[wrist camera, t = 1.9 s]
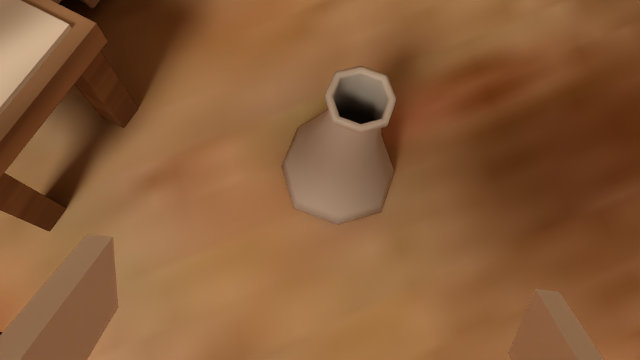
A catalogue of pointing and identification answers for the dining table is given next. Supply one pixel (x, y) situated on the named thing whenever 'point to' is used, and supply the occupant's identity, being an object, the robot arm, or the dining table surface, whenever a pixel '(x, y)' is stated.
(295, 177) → the flask
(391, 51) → the dining table surface
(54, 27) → the footstool
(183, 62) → the dining table surface
